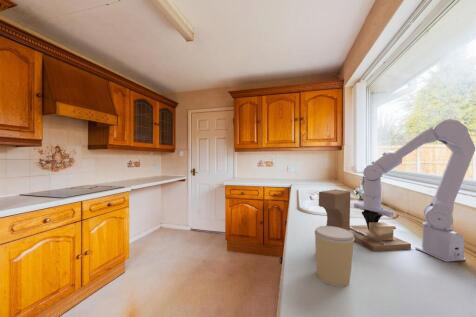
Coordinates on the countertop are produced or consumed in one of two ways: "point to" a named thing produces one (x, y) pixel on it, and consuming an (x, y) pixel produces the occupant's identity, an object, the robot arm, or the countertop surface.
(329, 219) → the decorative block
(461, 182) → the robot arm
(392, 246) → the walnut board
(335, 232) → the coffee cup
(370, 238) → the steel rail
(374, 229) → the beige peg block
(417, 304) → the countertop surface
